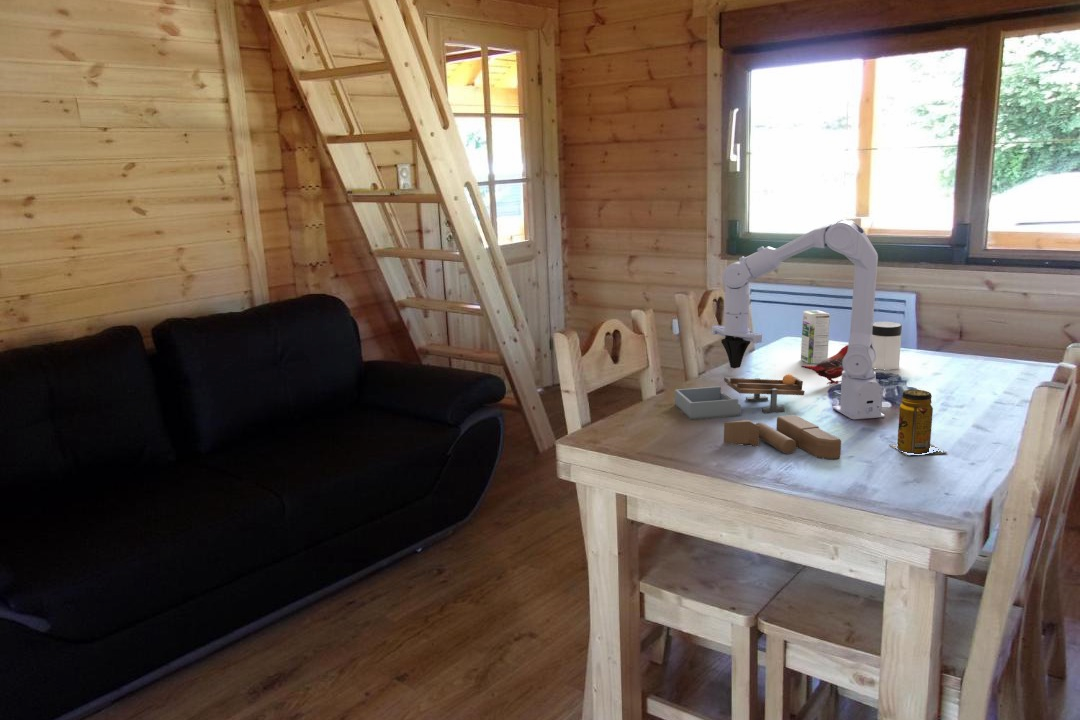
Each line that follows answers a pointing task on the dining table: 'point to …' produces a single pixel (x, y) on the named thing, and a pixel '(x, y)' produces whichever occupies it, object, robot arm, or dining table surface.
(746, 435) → the wooden block set
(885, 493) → the dining table surface
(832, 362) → the red pointed-tail figurine
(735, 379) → the wooden rack
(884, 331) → the jar
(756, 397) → the lever stand
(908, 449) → the condiment
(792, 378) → the ball
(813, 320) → the syrup box
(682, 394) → the tray
